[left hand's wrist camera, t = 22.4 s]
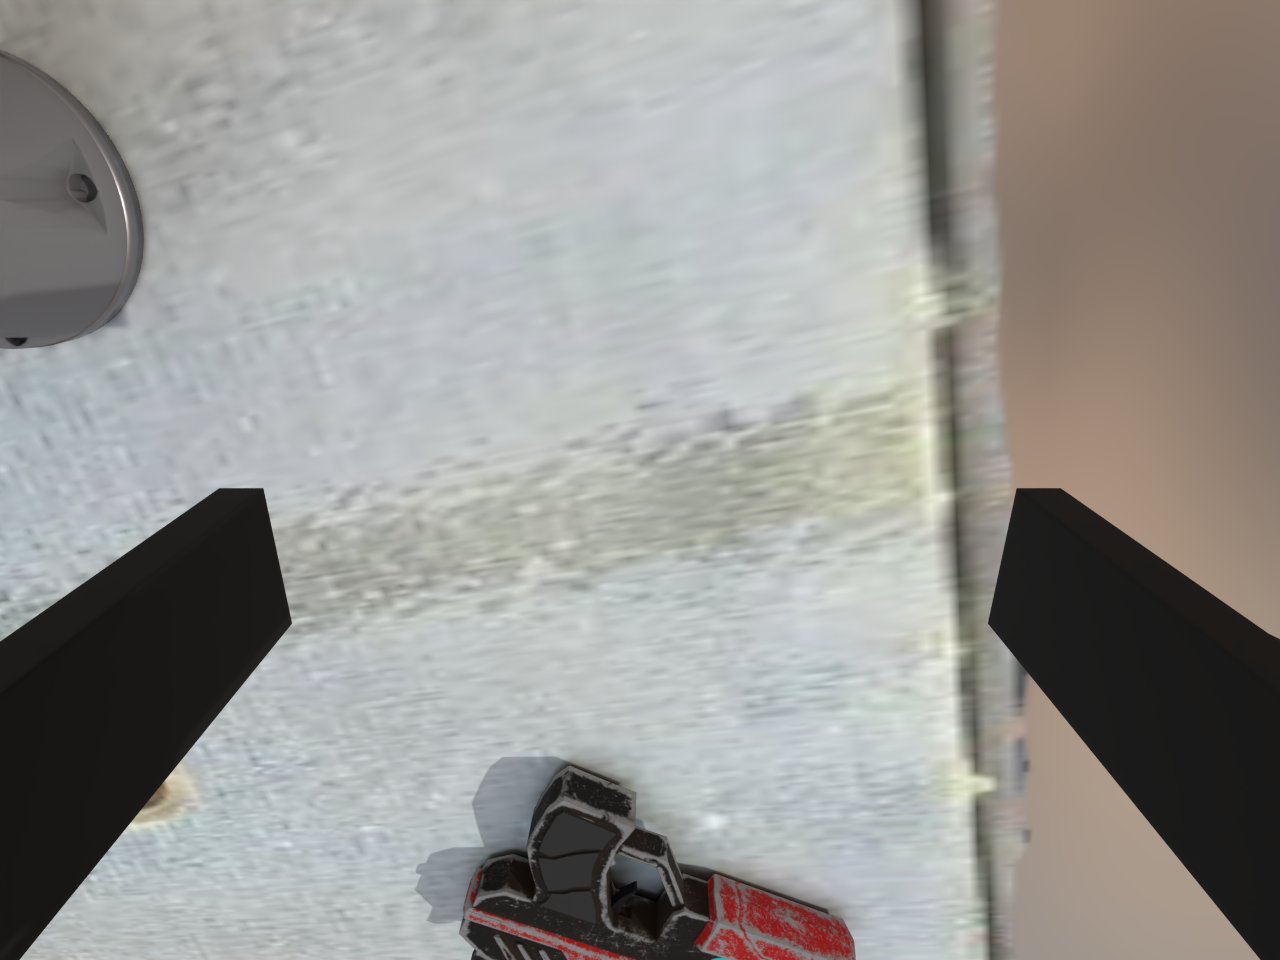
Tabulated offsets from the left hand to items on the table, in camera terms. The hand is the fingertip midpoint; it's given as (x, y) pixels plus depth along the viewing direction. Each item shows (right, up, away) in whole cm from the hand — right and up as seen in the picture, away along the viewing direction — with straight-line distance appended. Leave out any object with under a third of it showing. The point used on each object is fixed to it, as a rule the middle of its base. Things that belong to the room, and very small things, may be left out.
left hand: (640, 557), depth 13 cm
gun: (+2, -33, +46) cm, 56 cm away
